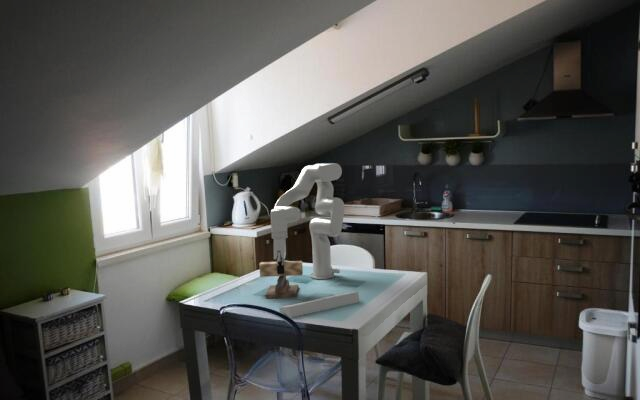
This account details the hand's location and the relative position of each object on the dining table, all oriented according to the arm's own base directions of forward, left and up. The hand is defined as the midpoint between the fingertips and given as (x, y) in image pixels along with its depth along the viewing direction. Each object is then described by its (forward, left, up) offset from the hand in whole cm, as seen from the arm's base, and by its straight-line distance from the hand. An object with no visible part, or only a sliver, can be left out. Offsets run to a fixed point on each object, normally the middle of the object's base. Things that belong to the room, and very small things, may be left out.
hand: (281, 272), depth 248 cm
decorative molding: (-19, +22, -11) cm, 31 cm away
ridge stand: (0, 0, -10) cm, 10 cm away
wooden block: (0, 0, -1) cm, 1 cm away
